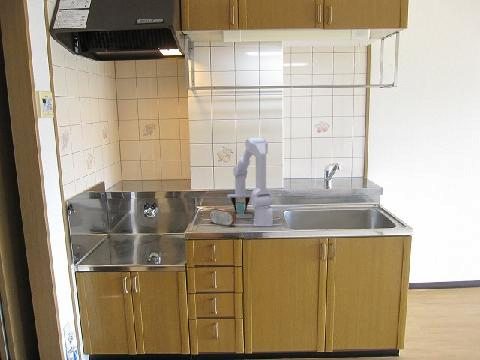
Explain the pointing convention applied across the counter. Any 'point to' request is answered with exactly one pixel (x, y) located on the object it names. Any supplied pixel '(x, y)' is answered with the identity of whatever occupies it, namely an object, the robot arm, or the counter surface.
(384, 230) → the counter surface
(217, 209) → the tin
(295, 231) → the counter surface
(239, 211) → the block
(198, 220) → the counter surface
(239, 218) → the pad
